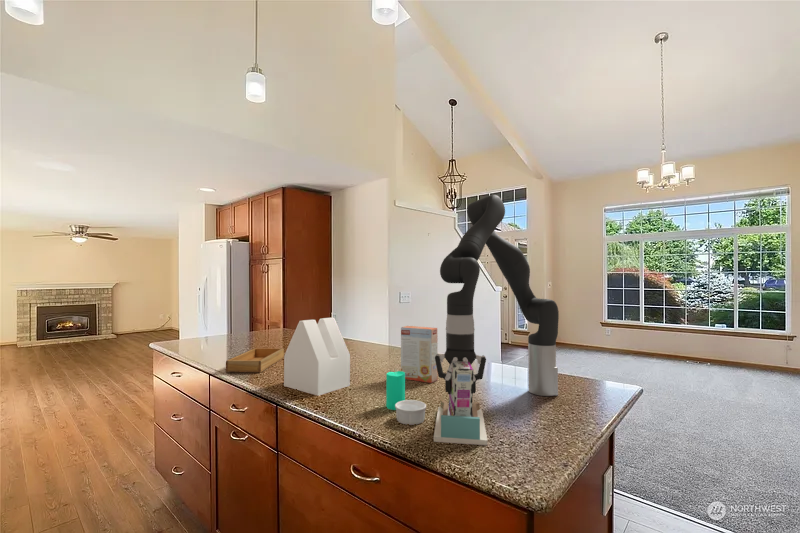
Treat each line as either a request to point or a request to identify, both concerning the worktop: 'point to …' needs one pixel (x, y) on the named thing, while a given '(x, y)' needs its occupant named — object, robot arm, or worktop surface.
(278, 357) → the tray
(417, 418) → the ramekin
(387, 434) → the worktop surface
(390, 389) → the candle
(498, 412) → the worktop surface
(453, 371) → the candy bar box
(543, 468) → the worktop surface
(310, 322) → the slotted house block
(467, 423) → the slot board
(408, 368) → the cracker box
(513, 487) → the worktop surface
